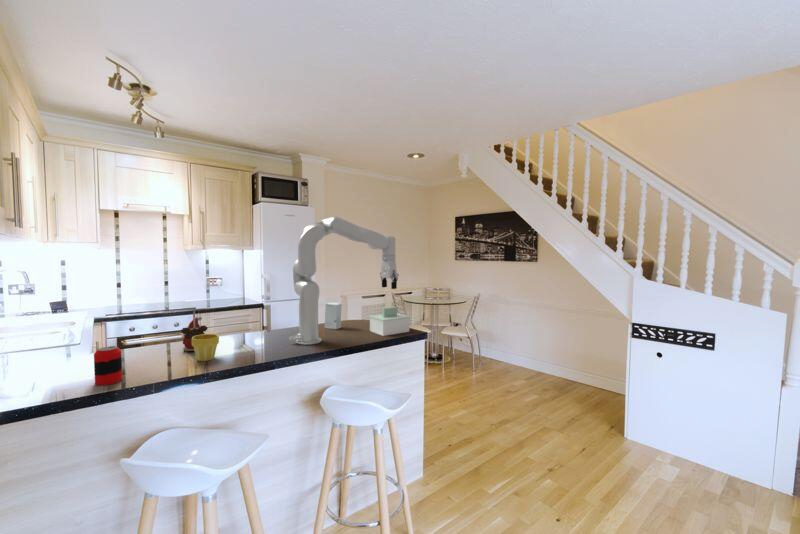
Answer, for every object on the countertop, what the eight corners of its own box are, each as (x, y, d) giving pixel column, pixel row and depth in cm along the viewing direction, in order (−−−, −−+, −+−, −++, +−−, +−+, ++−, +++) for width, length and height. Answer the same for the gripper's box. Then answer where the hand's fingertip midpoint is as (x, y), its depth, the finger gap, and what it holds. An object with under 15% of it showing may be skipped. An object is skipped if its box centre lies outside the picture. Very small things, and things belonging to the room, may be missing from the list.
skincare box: (324, 328, 215) (324, 303, 214) (329, 326, 221) (329, 302, 220) (336, 329, 212) (336, 304, 211) (341, 327, 218) (341, 302, 217)
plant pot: (224, 356, 159) (224, 334, 158) (206, 363, 149) (205, 340, 149) (205, 354, 162) (205, 332, 161) (186, 361, 152) (185, 338, 151)
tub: (383, 335, 198) (383, 321, 197) (369, 330, 209) (369, 317, 209) (409, 331, 208) (409, 317, 208) (395, 327, 220) (395, 314, 219)
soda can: (127, 377, 133) (126, 345, 132) (111, 385, 125) (110, 351, 124) (106, 377, 132) (105, 345, 132) (89, 385, 125) (87, 351, 124)
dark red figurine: (183, 353, 163) (182, 314, 162) (180, 349, 170) (179, 311, 169) (209, 349, 169) (208, 311, 168) (205, 345, 177) (204, 308, 176)
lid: (383, 323, 197) (383, 311, 197) (369, 318, 209) (369, 307, 209) (410, 319, 208) (410, 307, 208) (395, 315, 220) (395, 304, 219)
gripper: (375, 257, 211) (375, 287, 212) (392, 258, 197) (392, 290, 198) (385, 257, 215) (386, 286, 216) (403, 258, 201) (403, 289, 202)
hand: (389, 288), depth 207 cm, fingers open, 9 cm apart
